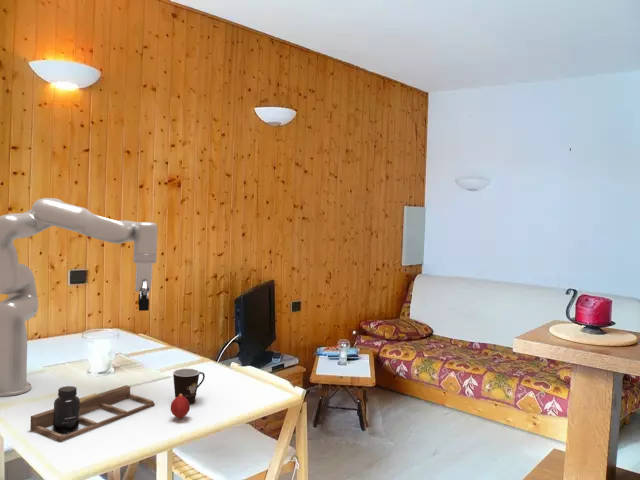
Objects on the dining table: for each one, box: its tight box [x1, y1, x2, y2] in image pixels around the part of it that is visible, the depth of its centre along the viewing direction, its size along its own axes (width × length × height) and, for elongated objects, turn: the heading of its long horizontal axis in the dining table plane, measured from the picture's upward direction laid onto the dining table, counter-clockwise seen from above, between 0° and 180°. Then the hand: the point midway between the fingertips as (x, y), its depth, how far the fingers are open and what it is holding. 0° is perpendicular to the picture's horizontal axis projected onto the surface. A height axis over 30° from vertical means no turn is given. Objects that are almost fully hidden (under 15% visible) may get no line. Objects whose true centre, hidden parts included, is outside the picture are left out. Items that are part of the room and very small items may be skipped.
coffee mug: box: [172, 368, 206, 405], centre depth 184 cm, size 12×9×10 cm
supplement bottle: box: [52, 385, 80, 435], centre depth 157 cm, size 7×7×12 cm
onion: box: [170, 394, 191, 420], centre depth 169 cm, size 6×6×8 cm
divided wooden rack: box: [30, 384, 156, 443], centre depth 167 cm, size 14×34×5 cm, turn 151°
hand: (143, 307), depth 188 cm, fingers open, 9 cm apart
